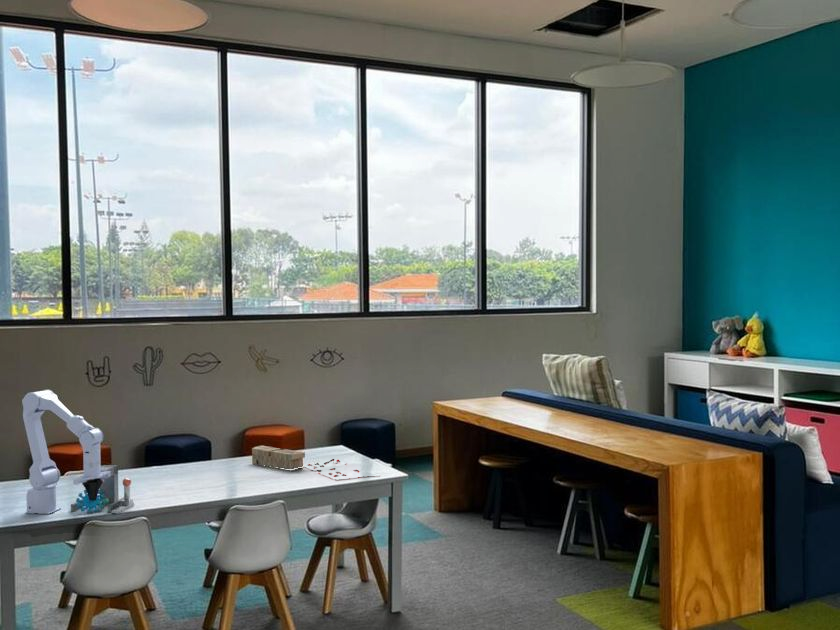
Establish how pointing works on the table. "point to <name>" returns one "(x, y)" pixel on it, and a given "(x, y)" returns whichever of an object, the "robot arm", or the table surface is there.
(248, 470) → the table surface
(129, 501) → the lever handle
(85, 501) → the blue virus model
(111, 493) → the press frame
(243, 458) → the table surface
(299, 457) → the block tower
